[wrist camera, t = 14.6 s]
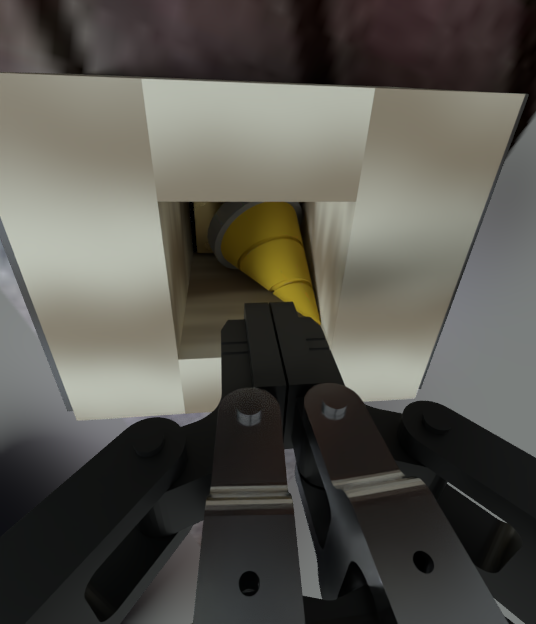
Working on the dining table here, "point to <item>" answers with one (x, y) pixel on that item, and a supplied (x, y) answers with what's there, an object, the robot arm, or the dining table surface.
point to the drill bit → (266, 248)
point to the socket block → (236, 188)
